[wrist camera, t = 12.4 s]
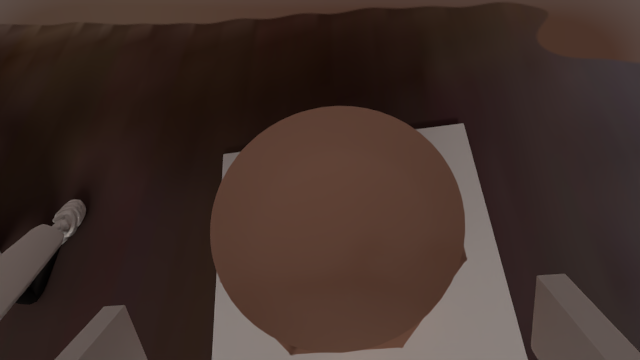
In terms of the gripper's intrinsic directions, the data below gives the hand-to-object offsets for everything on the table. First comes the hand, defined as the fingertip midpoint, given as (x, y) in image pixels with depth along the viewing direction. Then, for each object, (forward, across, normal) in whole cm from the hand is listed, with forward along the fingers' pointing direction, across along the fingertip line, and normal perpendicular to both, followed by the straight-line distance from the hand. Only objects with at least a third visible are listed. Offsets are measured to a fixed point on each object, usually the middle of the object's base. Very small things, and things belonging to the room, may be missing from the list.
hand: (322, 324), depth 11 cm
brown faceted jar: (+9, +1, -4) cm, 10 cm away
